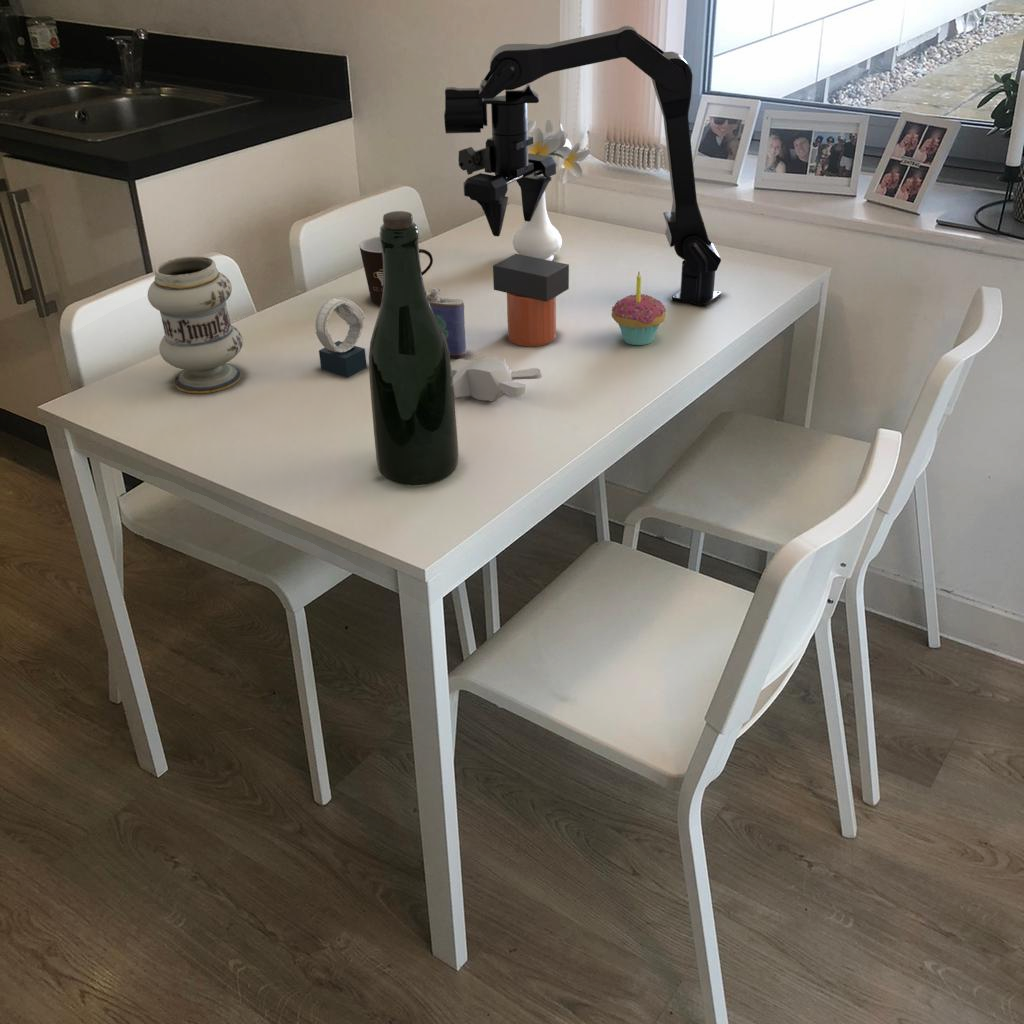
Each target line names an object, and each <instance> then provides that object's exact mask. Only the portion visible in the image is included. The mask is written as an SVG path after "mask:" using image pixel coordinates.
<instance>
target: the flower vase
mask: <svg viewBox="0 0 1024 1024" xmlns="http://www.w3.org/2000/svg"><path fill="white" fill-rule="evenodd" d="M544 124H545V125H544V126H545V127H544V128H545V129H544V132H543V131H542V129H541V128H540V127H536V125H537V121H536V120H534V119H533V120H530V121H529V120H528V137H533V144H531V145H529V146H528V154H529V153H530V154H537V155H544V156H551V157H552V158H553V160H554V161H555V162H556V168H557V167H558V162H557V160H556V158H555V156H556V157H558V158H560V159H562V160H561V163H560V167H561V168H562V170H563V173H562V184H563V185H565V184H566V183H567V182H569V179H570V176H571V174H572V175H573V176H574V177H575V178H576V179H579V178H581V177H582V175H583V169H582V166H581V165H580V163H579V162H583V161H585V159H587V157H588V156H589V155H590V153H591V151H590V149H584V150H581V151H580V147H581V143H580V142H579V141H578V142H576V143H575V144H574V146H573V147H572V144H571V142H570V140H569V138H568V132H567V131H566V130H564V129H563V126H562V123H561V122H560V124H559V131H557V132H555V133H554V125H553V123H552V121H551V120H550V119H546V121H545V123H544ZM562 244H563V238H562V236H561V234H560V231H559V230H558V229H557V228H556V227H555V226H554V225H553V224H552V223H551V220H550V218H549V215H548V212H547V203H546V190H545V191H544V193H543V195H542V197H541V199H540V201H539V203H538V206H537V208H536V210H535V212H534V215H533V217H532V219H531V221H529V222H528V221H525V220H524V221H523V223H522V224H521V226H520V227H518V229H517V230H516V231H515V234H514V235H513V238H512V246H513V249H514V250H515V252H516V253H517V254H520V255H524V256H529V257H534V258H539V259H544V260H549V261H553V260H554V258H555V254H557V253H558V252H559V251H560V249H561V247H562Z"/></svg>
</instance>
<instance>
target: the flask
mask: <svg viewBox="0 0 1024 1024" xmlns="http://www.w3.org/2000/svg"><path fill="white" fill-rule="evenodd" d="M441 291H442V290H441V288H440V287H439V286H436V287H435V288H434V287H432V288H430V289H428V292H429V294H427V297H428V300H429V303H430V305H431V307H432V309H433V311H434V314H435V316H436V318H437V320H438V322H439V324H440V326H441V328H442V330H443V333H444V335H445V338H446V341H447V345H448V348H449V352H450V359H464V357H466V355H467V343H466V342H467V341H466V327H465V324H466V323H465V302H464V301H463V300H462V299H458V298H447V297H445V298H444V297H440V292H441Z"/></svg>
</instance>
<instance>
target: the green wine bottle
mask: <svg viewBox="0 0 1024 1024" xmlns="http://www.w3.org/2000/svg"><path fill="white" fill-rule="evenodd" d="M382 223H383V224H381V226H380V229H379V237H380V241H381V245H382V256H383V294H382V300H381V306H379V310H378V313H377V316H376V320H375V324H374V327H373V330H372V333H371V338H370V341H369V349H368V373H369V375H368V378H369V389H370V402H371V414H372V425H373V438H374V447H375V457H376V465H377V469H378V471H379V473H380V474H381V475H382V477H383V478H385V479H386V480H388V481H389V482H391V483H395V484H397V485H403V486H411V487H415V486H417V487H418V486H427V485H431V484H435V483H438V482H441V481H443V480H445V479H446V478H448V477H450V476H451V475H452V474H454V472H455V471H456V469H457V468H458V465H459V440H458V430H457V429H458V426H457V414H456V402H455V397H454V389H453V377H452V368H451V364H452V362H451V361H452V360H451V358H450V352H449V348H448V345H447V341H446V338H445V335H444V333H443V330H442V328H441V326H440V324H439V322H438V320H437V318H436V316H435V314H434V311H433V309H432V307H431V305H430V303H429V300H428V297H427V295H428V294H427V292H426V287H425V283H424V279H423V276H422V266H421V265H422V264H421V259H420V258H421V257H420V253H419V249H420V247H419V239H420V232H419V229H418V226H417V224H416V223H415V222H414V218H413V213H411V212H409V211H405V210H394V211H390V212H389V211H388V212H386V213H385V214H383V216H382Z"/></svg>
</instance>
